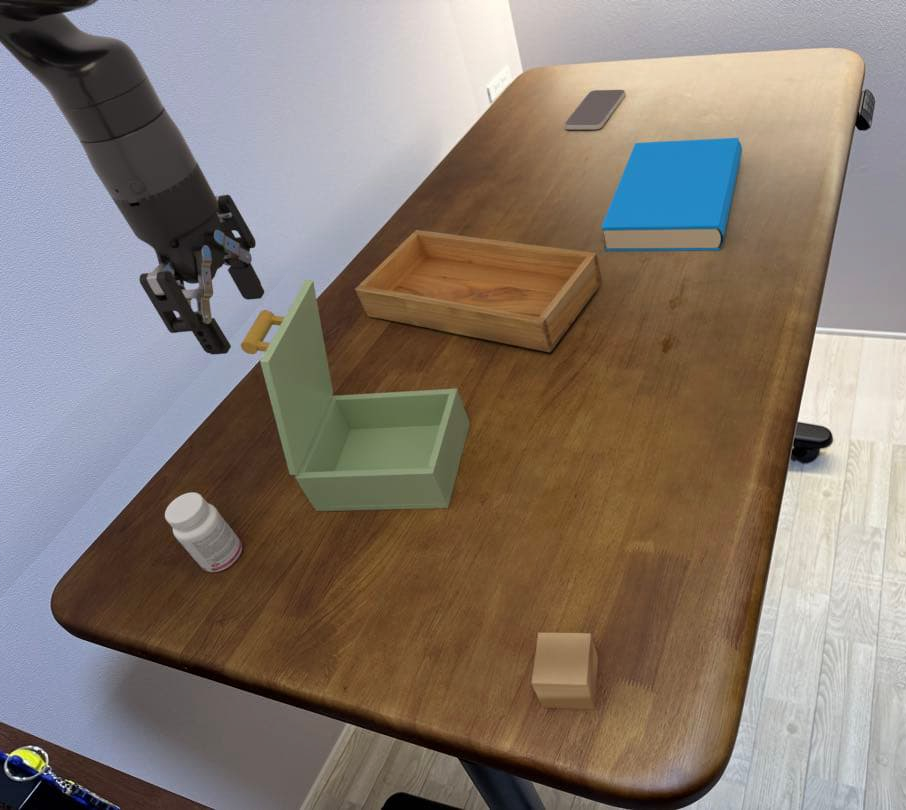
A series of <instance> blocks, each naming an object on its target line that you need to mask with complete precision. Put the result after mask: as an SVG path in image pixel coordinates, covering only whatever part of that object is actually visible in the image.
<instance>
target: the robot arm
mask: <svg viewBox="0 0 906 810" xmlns="http://www.w3.org/2000/svg"><path fill="white" fill-rule="evenodd" d="M99 1H100V0H0V44H1V45H2V46H3V47H4V48H5V49H6V50H7V51H8V52H9V53H10V54H11V55H12V56H13V57H14V58H15V59H16V60H17V61H18V63H19V64H20V65H21V66H22V67H23V68H24V69H25V70H26V71H28V73H30V74H31V75H32V76H33V77H34V78H35V79H36V80H37V81H38V82H39V83H40V84H41V85H42V86H43V87H44V88H45V90H47V91H48V93H49V94H50V96H51V98H52V99H53V101H54V103H55V104H56V106H57V107H58V109H59V111H60V112H61V114H62V115H63V117H64V118H65V120H66V122H67V123H68V125H69V126H70V128H71V130H72V131H73V133H74V134H75V136H76V137H77V139H78V141H79V143H80V144H81V147H82V149H83V150H84V152H85V154H86V156H87V160H88V161H89V164H90V165H91V167H92V169H93V171H94V173H95V174H96V176H97V177H98V179H99V180H100V182H101V184H102V185H103V186H104V188H105V190H106V191H107V193H108V194H109V196H110V198H111V199H112V200H113V202H114V204H115V205H116V207H117V209H118V210H119V212H120V214H121V215H122V217H123V218H124V220H125V222H126V223H127V224H128V226H129V228H130V229H131V231H132V232H133V234H134V235H135V237H136V238H137V239H138V240H139V241H141V242H143V243H145V244H147V245H149V246H150V247H151V248H152V249H153V251H154V252H155V255H156V258H157V262H158V265H157V266H156V267H155V268H154V269H153V271H151V272H144V273H141V274H140V275H139V279H138V280H139V283H140V285H141V287H142V289H143V290H144V292H145V293H146V296H147V297H148V299H149V301H150V302H151V304H152V306H153V307H154V309H155V311H156V312H157V314H158V316H159V317H160V319H161V320H162V323H163V324H164V325H165V328H166V329H167V331H168V332H169V333H171V334H176V333H177V334H178V333H186V332H192V334H193V336H194V337H195V339H196V340H197V342H198V343H199V345H200V346H201V348H202V350H203V351H204V352H205V353H207V354H210V355H226V354H228V353H229V351H230V350H231V348H232V346H231V344H230V342H229V340H228V338H227V337H226V335H225V333H224V331H223V330H222V328H221V327H220V325H219V323H218V322H217V320H216V319H215V317H213V316H212V309H211V303H210V299H211V298H212V297H213V295H214V287H213V280H214V279H215V277H216V274H217V271H218V270H219V269H220V268H222V267H223V265H224V266H226V267H229V268H228V269H227V272H228V273H229V275H230V277H231V279H232V281H233V282H234V284H235V286H236V288H237V289H238V291H239V293H240V295H241V296H242V298H243V299H245V300H260V299H261V298H262V297H263V296H264V294H265V290H264V287H263V286H262V283H261V280H260V278H259V277H258V275H257V273H256V271H255V269H254V267H253V265H252V260H253V257H252V254H251V249H254V248H255V247H256V243H257V242H256V238H255V237H254V235H253V233H252V231H251V230H250V228H249V225H247V223H246V221H245V218H243V216H242V214H241V212H240V210H239V209H238V206H237V205H236V203H235V201H234V200H233V198H232V197H231V195H229V194H222V195H215V193H214V190H213V189H212V187H211V186H210V184H209V182H208V180H207V178H206V176H205V174H204V172H203V171H202V169H201V167H200V165H199V163H198V161H197V160H196V157H195V155H194V154H193V152H192V150H191V148H190V146H189V144H188V142H187V140H186V139H185V136H184V135H183V133H182V131H181V130H180V128H179V126H177V124H176V123H175V121H174V119H173V118H172V117H171V116H170V114H169V112H168V110H167V109H166V108H165V106H164V104H163V103H162V100H161V98H160V96H159V95H158V93H157V91H156V89H155V87H154V85H153V84H152V81H151V80H150V78H149V76H148V74H147V72H146V71H145V69H144V67H143V65H142V63H141V61H140V60H139V58H138V57H137V55H136V53H135V52H134V51H133V49H132V48H131V46H129V45H128V44H127V43H126V42H124V41H123V40H121V39H118V38H116V37H115V38H114V37H109V36H103V35H95V34H91V33H88V32H85V31H83V30H81V29H80V28H79V27H77V26H76V25H75V24H74V23H73V22H72V21H71V20H70V19H69V18H68V17H67V16H66V13H71V12H76V11H79V10H84V9H87V8H90V7H92V6H93V5H95V4H97V3H98V2H99ZM233 231H235V232H237V233H238V235H239V236H237V237H236V235H235V234H234V232H233ZM185 283H187V284H192V285H193V284H198V286H197V288H195V289H186V287H185ZM193 299H195V300H196V308H197V310H196V311H194V310H193V307H192V300H193ZM175 312H177V313H178V315H179V316H178V317H177V316H176V313H175Z"/></svg>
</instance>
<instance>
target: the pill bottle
mask: <svg viewBox="0 0 906 810" xmlns="http://www.w3.org/2000/svg"><path fill="white" fill-rule="evenodd" d="M164 518H165V521H166V522H167V523H168V524H169V525H170V527H171V528H172V534H173V536H174V538H175V539H176V540H177V541H178V542H179V543H180V545H181V546H182V547H183V548H184V549H185V551H186V552H187V553H188V554H189V555H190V556H191V557H192V559H193V560H194V561H195V563H196V564H197V565H198V566H199V567H200V568H201V569H202V570H204V572H205V571H206V572H209V573H219V572H222V571H225V570H226V569H228V568H230V567H231V566H232V565H234V563H235V562H236V561H237V560H238V559H239V557H240V556H241V554H242V551H243V542H242V540H241V538H239V536H238V535H237V534H236V532H235V530H233V529H232V527H231V526H230V525H229V524H228V522H227V521H226V519H225V518H224V517H223V515H222V514H221V513H220V511H219V510H218V509H217V508H216V507H215V505H213V504H212V503H208V501H207V500H206V499H205V498H204V497H203V496H202V495H201V494H200V493H198V492H193V491H191V492H187V493H183V494H181V495H179V496H177V497H176V498H175V499H173V500H172V501H171V502H170V503H169V504H168V505H167V507H166V509H165V512H164Z"/></svg>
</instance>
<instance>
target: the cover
mask: <svg viewBox="0 0 906 810" xmlns="http://www.w3.org/2000/svg"><path fill="white" fill-rule="evenodd" d="M319 311H320V310H319V306H318V300H317V293H316V287H315V283H314V280H312V279H305V280H304V281H303V284H302V285H301V288H300V289H299V291H298V293H297V294H296V297H295V298H294V300H293V302H292V304H291V305H290V307H289V309H288V311H287V312H286V314H285V316H279V315H275V313H273V312H272V311H270V310H267V309H263V310H261V311H260V312H258V313H259V314H258V315H257V317H256V318H255V320H254V322H253V323H252V325H251V327H250V328H249V330H248V331H247V333H246V335H245V336H244V338H243V340H242V342H241V344H240V348H241V350H242V351H243V352H244V353H246V354H249V355H255V354H257V352H264V353H263V355H262V356H261V358H260V361H259V362H260V366H261V370H262V373H263V377H264V381H265V385H266V389H267V393H268V397H269V400H270V404H271V408H272V413H273V416H274V420H275V424H276V428H277V431H278V434H279V438H280V443H281V446H282V450H283V454H284V457H285V462H286V466H287V470H288V473H289V475H290V476H296V475H297V474H298V471H299V469H300V467H301V465H302V462H303V460H304V458H305V456H306V453H307V451H308V449H309V447H310V444H311V442H312V440H313V438H314V435H315V433H316V431H317V429H318V426H319V424H320V422H321V420H322V417H323V415H324V413H325V411H326V408H327V406H328V404H329V402H330V399H331V397H332V396H334V390H333V385H332V380H331V373H330V367H329V362H328V355H327V350H326V346H325V340H324V334H323V329H322V323H321V318H320V312H319ZM272 326H279V327H278V328H277V330H276V332H275V333H274V335H273V337H272V339H271V341H269V342H268V341H264V340H265V338H266V337H267V335H268V334H269V331H270V330H271V328H272Z"/></svg>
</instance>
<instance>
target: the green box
mask: <svg viewBox="0 0 906 810" xmlns="http://www.w3.org/2000/svg"><path fill="white" fill-rule="evenodd" d="M470 425H471V423H470V420H469V417H468V414H467V412H466V409H465V406H464V404H463V400H462V398H461V395H460V393H459V390H458V388H443V389H442V388H440V389H426V390H410V391H391V392H375V393H358V394H341V395H332V397H331V399H330V402H329V404H328V406H327V408H326V411H325V413H324V415H323V417H322V420H321V422H320V424H319V426H318V429H317V431H316V433H315V435H314V438H313V440H312V442H311V444H310V447H309V449H308V451H307V453H306V456H305V458H304V460H303V462H302V465H301V467H300V469H299V471H298V474H297V475H295V480H296V482H297V483H298V485H299V486H300V488H301V490H302V491H303V493H304V494H305V497H306V498H307V499H308V501H309V502H310V504H311V506H312V507H313V509H314V510H315V511H316V512H337V511H338V512H339V511H340V512H341V511H346V512H347V511H381V510H386V511H387V510H388V511H389V510H423V509H425V510H426V509H428V510H429V509H449V506H450V502H451V500H452V495H453V491H454V487H455V483H456V479H457V475H458V472H459V467H460V465H461V464H460V463H461V460H462V455H463V451H464V448H465V444H466V441H467V437H468V432H469V429H470Z"/></svg>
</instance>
